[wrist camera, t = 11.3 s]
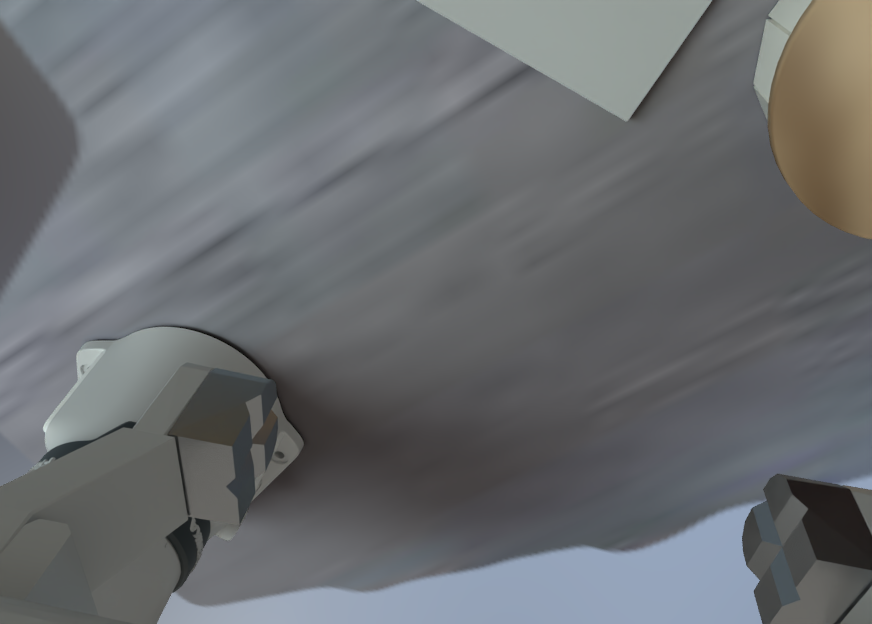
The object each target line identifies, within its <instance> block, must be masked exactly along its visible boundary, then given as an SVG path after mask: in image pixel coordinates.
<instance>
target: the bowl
mask: <svg viewBox="0 0 872 624" xmlns="http://www.w3.org/2000/svg"><path fill="white" fill-rule="evenodd" d="M811 1H812V0H779V2H778V3H777V4H776V6H775V7H774V8H773V10H772V11H771V12H770V13H769V15H768V16H769V17H771V18H772V19H766V23H765V28H764V33H763V38H762V43H761V48H760V53H759V58H758V63H757V67H756V72H755V77H754V82H753V84H754V85H755V86H754V89H755V92H756V94H757V97H758V99H759V102H760V104H761V107H762V109H763V112H764V114H765V117H766V119H767V122H768V103H769V96H770V89H771V84H772V80H773V77H774V73H775V70H776V67H777V63H778V61H779V58H780V56H781V54H782V51H783V49H784V46H785V44H786V42H787V40H788V38H789V36H790V34H791V33H792V31H793V29H794V27H795V25H796V24H797V22H798V20H799V18H800V17H801V15H802V14H803V13H804V11H805V10H806V8H807V7H808V6H809V4H810V3H811Z"/></svg>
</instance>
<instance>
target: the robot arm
mask: <svg viewBox="0 0 872 624" xmlns="http://www.w3.org/2000/svg"><path fill="white" fill-rule="evenodd" d="M76 358H77V373H78V382H77V383H76V384H75V385H74V387H73V388H72V389H71V390H70V392H69V393H68V394H67V395H66V397H65V398H64V399H63V400H62V402H61V403H60V404H59V405H58V407H57V408H56V409H55V411H54V412H53V413H52V414H51V416H50V417H49V418H48V420H47V421H46V423H45V425H44V427H43V430H44V432H45V433H46V434H45V445H46V448H47V451H48V452H47V453H46V454H45V455H44V457H43V458H42V459H41V460H40V461H39V462H38V464H37V465H36V466H33V468H31V470H30V471H29V472H28V473H27V474H25V475H23V476H21V477H19V478H17V479H15V480H13V481H11V482H9V483H7V484H4V485H3V486H0V624H157V622H158V620H159V618H160V616H161V614H162V612H163V609H164V607H165V606H166V604H167V602H168V600H169V598H170V596H171V594H172V593H173V592H175V591H176V590H178V589H179V588H180V587H181V586H182V585H183V584H184V582H185V581H186V579H187V577H188V576H189V574H190V573H191V572H192V571H193V569H194V568H195V566H196V565H197V563H198V561H199V559H200V557H201V555H202V551H203V548H204V546H205V544H206V542H207V540H209V539H210V538H211V537H213V536H214V535H216V536H218V537H220V538H222V539H224V540H226V541H230V540H231V539H232V538H233V536H234V535H235V534H236V532H237V530H238V529H239V527H240V525H241V523H242V521H243V519H244V518H245V516H246V514H247V512H248V507H249V505H250V503H251V502H252V501H253V500H254V499H255V498H256V497H257V496H258V495H259V494H260V493H261V492H262V491H263V490H264V489H265V488H266V487H267V486H268V485H269V484H270V483H271V482H272V481H273V480H274V479H275V478H276V477H277V476H278V475H279V474H280V473H281V472H282V471H283V470H284V469H285V468H286V467H287V466H288V465H289V464H291V463H292V462H293V461H294V460H295V459H296V458H297V456H298V455H299V453H300V452H301V450H302V448H303V446H304V442H303V440H302V438H301V436H300V435H299V434H298V432H297V431H296V430H295V429H294V427H293V426H292V425H291V424H290V423H289V422H288V421H287V420H286V418H285V416H284V414H283V411H282V408H281V405H280V402H279V399H278V397H277V391H276V383H275V382H274V381H273V380H271V379H267V378H266V377H265V375H264V374H263V373H262V372H261V371H260V370H259V369H258V368H257V367H256V366H255V365H254V364H253V363H252V362H251V361H250V360H249V359H248V358H246V357H245V356H244V355H243V354H241V353H240V352H238V351H237V350H235V349H234V348H232V347H231V346H229V345H227V344H225V343H224V342H222V341H220V340H218V339H215V338H213V337H211V336H208V335H206V334H203V333H200V332H196V331H192V330H188V329H183V328H176V327H154V328H148V329H143V330H140V331H137V332H134V333H132V334H130V335H128V336H126V337H124V338H122V339H119V340H115V341H109V340H100V341H89V342H86V343H85V344H84V345H83V346H82V347H81V349H80V350H79V351H78V353H77V357H76ZM763 490H764V493H765V496H766V499H767V501H765V502H763V503H761V504H759V505H757V506H755V507H753V508H752V509H751V512H750V513H749V515H748V517H747V519H746V521H745V525H744V531H743V536H742V541H743V552H744V557H745V561H746V565H747V567H748V568H749V569H750V570H751V571H752V572H753V573H754V574H755V575H756V576H757V577H758V579H759V580H760V581H759V583H758V585H757V586H756V588H755V590H754V594H755V598H756V602H757V605H758V609H759V612H760V616H761V620H762V623H763V624H872V490H868V489H863V488H857V487H851V486H845V485H843V486H841V485H838V484H832V483H827V482H821V481H816V480H810V479H804V478H799V477H793V476H788V475H782V474H776V475H775V476H773V477H772V478H770V479H769V481H768V483H767V484H766V486H765V487H764V489H763Z"/></svg>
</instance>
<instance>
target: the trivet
mask: <svg viewBox="0 0 872 624" xmlns="http://www.w3.org/2000/svg"><path fill="white" fill-rule="evenodd" d="M416 1H418V2H420V3H422V4H423V5H425V6H427V7H428V8H430V9H432V10H434V11H435V12H437V13H439V14H441V15H442V16H444V17H446V18H448V19H449V20H451V21H453V22H455V23H456V24H458V25H460V26H461V27H463V28H465V29H467V30H468V31H470V32H472V33H474V34H475V35H477V36H479V37H481V38H482V39H484V40H486V41H487V42H489V43H491V44H493V45H494V46H496V47H498V48H500V49H501V50H503V51H505V52H507V53H508V54H510V55H512V56H514V57H515V58H517V59H519V60H520V61H522V62H524V63H526V64H527V65H529V66H531V67H533V68H534V69H536V70H538V71H540V72H541V73H543V74H545V75H547V76H548V77H550V78H552V79H553V80H555V81H557V82H559V83H560V84H562V85H564V86H566V87H567V88H569V89H571V90H573V91H574V92H576V93H578V94H579V95H581V96H583V97H585V98H586V99H588V100H590V101H592V102H593V103H595V104H597V105H599V106H600V107H602V108H604V109H606V110H607V111H609V112H611V113H612V114H614V115H616V116H618V117H619V118H621V119H623V120H625V121H626V122H627V121H628V120H629V118H630V117H631V116H632V114H633V113H634V111H635V110H636V108H637V107H638V106H639V104H640V103H641V101H642V100H643V98H644V97H645V96H646V94H647V93H648V91H649V90H650V88H651V87H652V86H653V84H654V83H655V81H656V80H657V78H658V77H659V76H660V74H661V73H662V71H663V70H664V68H665V67H666V66H667V64H668V63H669V61H670V60H671V59H672V57H673V56H674V54H675V53H676V51H677V50H678V49H679V47H680V46H681V44H682V43H683V41H684V40H685V39H686V37H687V36H688V34H689V33H690V31H691V30H692V29H693V27H694V26H695V24H696V23H697V21H698V20H699V19H700V17H701V16H702V14H703V13H704V11H705V10H706V9H707V7H708V6H709V4H710V3H711V1H712V0H416Z"/></svg>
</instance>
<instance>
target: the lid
mask: <svg viewBox="0 0 872 624" xmlns="http://www.w3.org/2000/svg"><path fill="white" fill-rule="evenodd" d="M768 131H769V138H770V145H771V148H772V152H773V155H774V158H775V161H776V164H777V166H778V168H779V170H780V172H781V174H782V176H783V178H784V179H785V180H786V182H787V183H788V185H789V186H790V187H791V189H792V190H793V191H794V193H795V194H796V196H797V197H798V198H799V200H800V201H801V202H802V203H803V204H804V205H805V206H806V207H807V208H808V209H809V210H810V211H811V212H813V213H814V214H815V215H817V216H818V217H819V218H821V219H822V220H824V221H825V222H827V223H828V224H830V225H832V226H834V227H836V228H838V229H840V230H842V231H845V232H847V233H851V234H854V235H857V236H860V237H863V238H868V239H872V0H812V1H811V3H810V4H809V6H808V7H807V8H806V10H805V11H804V13H803V14H802V15H801V17H800V18H799V20H798V22H797V24H796V25H795V27H794V29H793V31H792V33H791V34H790V36H789V38H788V40H787V42H786V44H785V46H784V49H783V51H782V54H781V56H780V58H779V61H778V63H777V67H776V70H775V73H774V77H773V80H772V84H771V89H770V96H769V103H768Z"/></svg>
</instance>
